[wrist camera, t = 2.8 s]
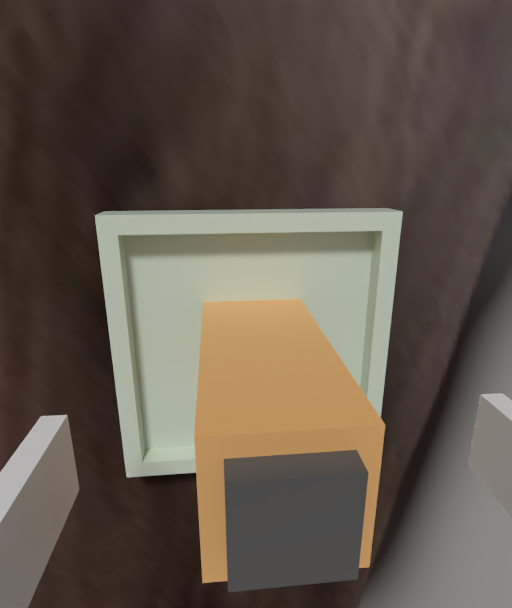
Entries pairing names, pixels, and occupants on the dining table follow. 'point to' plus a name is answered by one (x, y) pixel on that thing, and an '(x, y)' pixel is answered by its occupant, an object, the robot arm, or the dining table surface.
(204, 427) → the orange capped pillar
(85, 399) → the dining table surface
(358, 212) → the tray
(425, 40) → the dining table surface
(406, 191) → the dining table surface
